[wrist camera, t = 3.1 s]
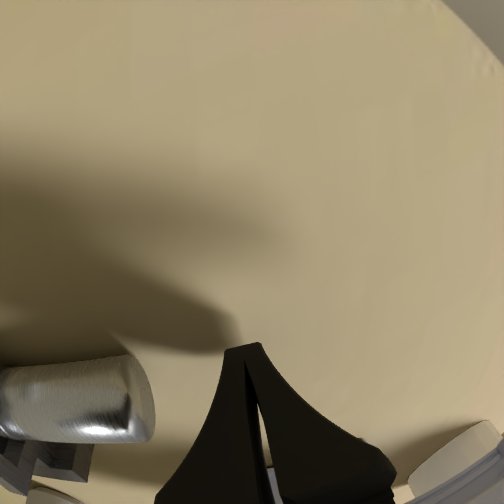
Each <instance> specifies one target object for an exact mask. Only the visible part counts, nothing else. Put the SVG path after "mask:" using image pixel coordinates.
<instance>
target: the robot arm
mask: <svg viewBox="0 0 504 504" xmlns="http://www.w3.org/2000/svg"><path fill="white" fill-rule="evenodd" d="M257 404H258V406H259V409H260V412H261V415H262V418H263V421H264V425H265V430H266V434H267V439H268V444H269V448H270V453H271V458H272V462H273V468H269V469H267V467H266V463H265V459H264V453H263V447H262V439H261V431H260V423H259V414H258V406H257ZM396 475H397V472H396V470H395V468H394V466H393V465H392V463H391V462H390V461H389V459H388V458H387V457H386V456H385V455H384V454H383V453H382V451H381V450H380V449H379V448H377V447H375V446H372V445H370V444H368V443H367V441H362V440H360V439H358V438H356V437H355V436H353V435H351V434H350V433H348V432H346V431H344V430H343V429H341V428H340V427H338V426H337V425H335V424H334V423H332V422H331V421H330V420H328V419H327V418H325V417H324V416H323V415H321V414H320V413H319V412H318V411H316V410H315V409H314V408H313V407H312V406H310V405H309V404H308V403H307V402H306V401H305V400H304V399H303V398H302V397H301V396H300V395H298V394H297V392H296V391H295V390H294V389H293V388H292V387H291V386H290V385H289V384H288V383H287V382H286V381H285V379H284V378H283V377H282V376H281V374H280V373H279V372H278V371H277V369H276V368H275V367H274V365H273V364H272V362H271V361H270V359H269V358H268V356H267V355H266V353H265V351H264V349H263V347H262V344H261V343H259V342H255V343H251V344H247V345H242V346H238V347H234V348H229V349H226V350H225V352H224V360H223V366H222V371H221V375H220V379H219V383H218V386H217V390H216V393H215V396H214V399H213V402H212V405H211V408H210V410H209V413H208V415H207V418H206V420H205V422H204V425H203V427H202V429H201V431H200V433H199V435H198V437H197V439H196V440H195V442H194V444H193V446H192V448H191V449H190V451H189V453H188V454H187V456H186V457H185V459H184V460H183V462H182V463H181V464H180V466H179V467H178V469H177V470H176V472H175V473H174V474H173V476H172V477H171V478H170V479H169V480H168V482H167V483H166V484H165V485H164V486H163V488H162V489H161V490H160V491H159V492H158V493H157V494H156V496H155V501H154V504H395V502H394V500H393V497H394V493H393V491H392V489H391V485H392V483H393V482H394V480H395V478H396ZM404 504H504V437H503V438H502V440H501V441H500V442H499V443H498V445H497V447H496V448H494V449H493V450H492V451H490V452H489V453H488V454H486V455H485V456H483V457H482V458H481V459H479V460H478V461H476V462H475V463H474V464H472V465H471V466H469V467H468V468H466V469H465V470H463V471H462V472H460V473H458V474H457V475H455V476H454V477H452V478H450V479H449V480H447V481H445V482H444V483H442V484H440V485H439V486H437V487H435V488H433V489H432V490H430V491H428V492H426V493H424V494H422V495H420V496H418V497H417V498H415V499H413V500H411V501H408V502H406V503H404Z"/></svg>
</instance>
